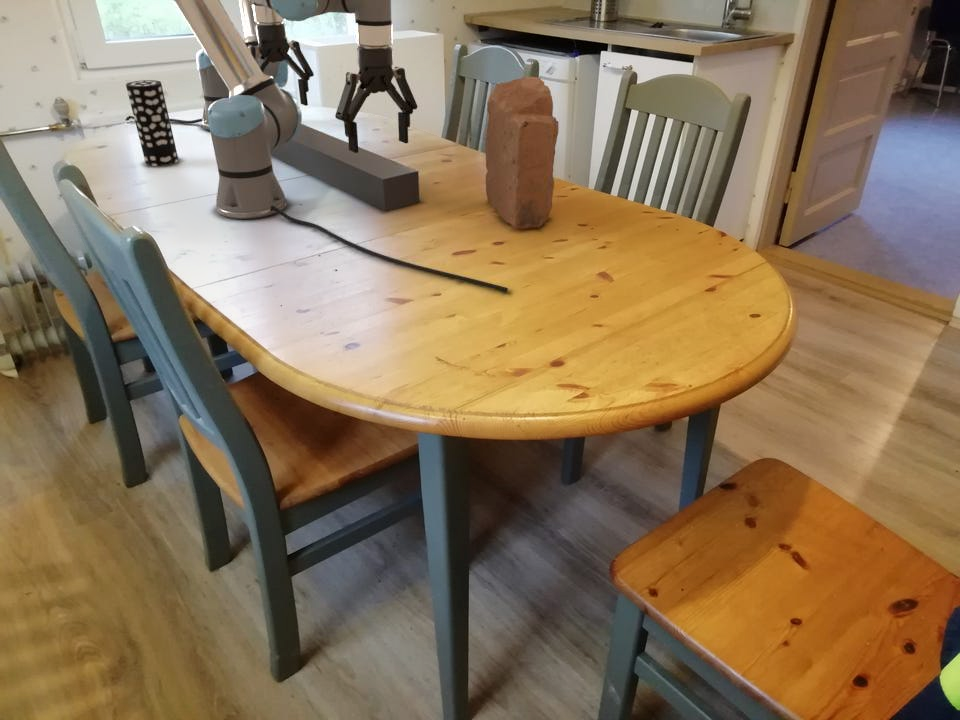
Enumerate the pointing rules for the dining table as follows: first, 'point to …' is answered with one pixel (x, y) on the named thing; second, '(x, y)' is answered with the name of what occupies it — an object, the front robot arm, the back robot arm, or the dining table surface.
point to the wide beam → (351, 169)
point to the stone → (521, 151)
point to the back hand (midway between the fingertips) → (282, 108)
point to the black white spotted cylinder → (152, 122)
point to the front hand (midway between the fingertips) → (379, 146)
